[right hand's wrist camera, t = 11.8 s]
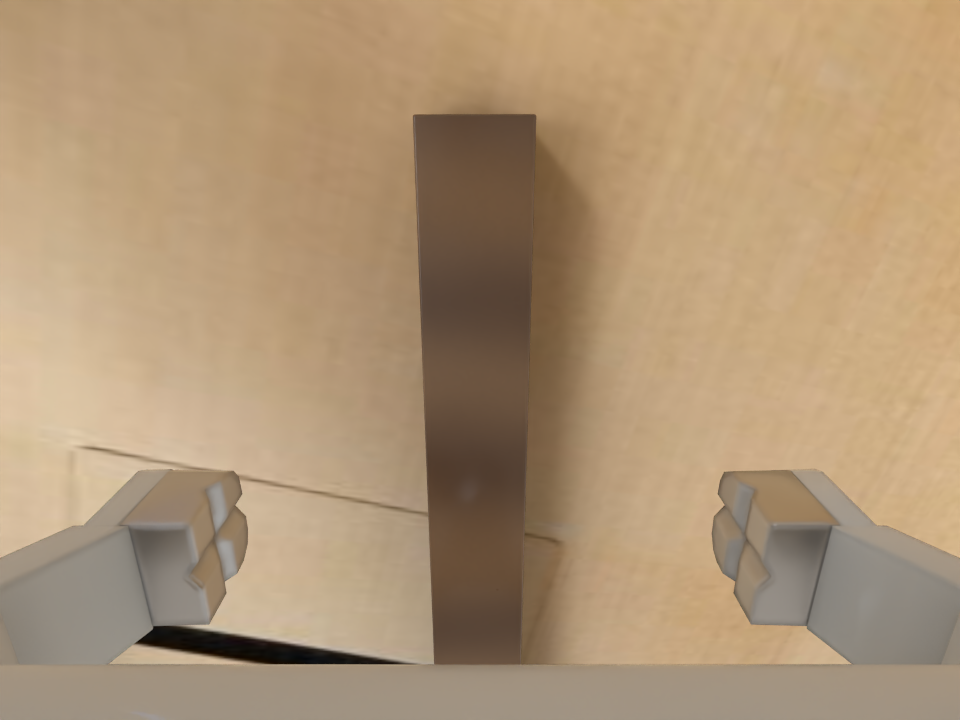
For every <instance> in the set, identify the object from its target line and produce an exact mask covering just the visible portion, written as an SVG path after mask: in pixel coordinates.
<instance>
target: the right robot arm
mask: <svg viewBox="0 0 960 720" xmlns="http://www.w3.org/2000/svg"><path fill="white" fill-rule="evenodd" d="M241 495H242V490H241V485H240V480H239V476H238V475H237V474H236V473H235V472H234V471H214V470H172V469H159V470H142V471H138V472H137V473H136V474H135V475H134V476H133V477H132V478H131V479H130V480H129V481H128V482H127V483H126V484H125V485H124V486H123V487H122V488H121V489H120V490H119V491H118V492H117V493H116V494H115V495H114V496H113V497H112V498H111V499H110V500H109V501H108V502H107V503H106V504H105V505H104V506H103V507H102V508H101V509H100V510H99V511H98V512H97V513H96V514H95V515H94V516H93V517H92V518H91V519H90V520H89V521H88V522H87V523H86V524H85V525H84V526H72V527H69V528H67V529H65V530H63V531H60V532H58V533H56V534H54V535H51V536H49V537H47V538H44V539H42V540H40V541H38V542H35V543H33V544H31V545H29V546H26V547H24V548H22V549H20V550H17V551H15V552H13V553H11V554H8V555H6V556H4V557H1V558H0V720H960V558H958V557H956V556H954V555H952V554H949V553H947V552H945V551H943V550H940V549H938V548H936V547H933V546H931V545H929V544H927V543H924V542H922V541H920V540H918V539H915V538H913V537H911V536H909V535H906V534H904V533H902V532H900V531H897V530H895V529H893V528H891V527H888V526H877V525H875V524H874V523H873V522H872V521H871V520H870V519H869V518H868V517H867V516H866V515H865V514H864V513H863V512H862V511H861V510H860V509H859V508H858V507H857V506H856V505H855V504H854V503H853V502H852V501H851V500H850V499H849V498H848V497H847V496H846V495H845V494H844V493H843V492H842V491H841V490H840V489H839V488H838V487H837V486H836V485H835V484H834V483H833V482H832V481H831V480H830V479H829V478H828V477H827V476H826V475H825V474H824V473H823V472H821V471H819V470H816V469H803V470H772V471H732V472H724V473H723V476H722V478H721V480H720V484H719V490H718V495H719V497H720V498H721V500H722V501H723V503H724V504H725V506H724V507H723V508H722V509H721V510H720V511H719V512H718V513H717V514H716V515H715V516H714V521H713V529H712V541H713V551H714V554H715V557H716V560H717V563H718V565H719V567H720V569H721V571H722V573H723V574H725V575H726V576H728V577H729V578H731V579H732V580H734V581H735V588H734V595H735V597H736V598H737V600H738V602H739V604H740V606H741V607H742V609H743V611H744V613H745V615H746V616H747V618H748V620H749V622H750V624H755V625H791V626H807V629H808V630H809V631H811V632H812V633H813V634H814V635H816V636H817V637H818V638H820V639H821V640H822V641H823V642H825V643H826V644H827V645H829V646H830V647H831V648H832V649H834V650H835V651H836V652H837V653H839V654H840V655H841V656H843V657H844V658H845V659H846V660H848V661H849V662H850V663H851V664H829V665H188V664H109V663H110V662H111V661H113V660H114V659H115V658H116V657H118V656H119V655H120V654H121V653H123V652H124V651H125V650H127V649H128V648H129V647H130V646H132V645H133V644H134V643H136V642H137V641H138V640H139V639H141V638H142V637H143V636H144V635H146V634H147V633H148V632H150V631H151V630H152V629H153V626H168V625H204V624H210V622H211V620H212V618H213V616H214V615H215V613H216V611H217V609H218V607H219V606H220V604H221V602H222V600H223V598H224V597H225V595H226V588H225V581H226V580H228V579H229V578H231V577H232V576H234V575H235V574H237V573H238V571H239V569H240V567H241V565H242V563H243V561H244V557H245V553H246V549H247V544H248V527H247V520H246V516H245V515H244V514H243V513H242V512H241V511H240V510H239V509H238V508H237V507H236V506H235V504H236V503H237V501H238V500H239V498H240V497H241Z"/></svg>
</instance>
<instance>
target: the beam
mask: <svg viewBox="0 0 960 720" xmlns="http://www.w3.org/2000/svg"><path fill="white" fill-rule="evenodd" d="M413 132H414V157H415V183H416V208H417V234H418V259H419V285H420V311H421V336H422V362H423V387H424V413H425V438H426V464H427V490H428V515H429V541H430V566H431V592H432V618H433V643H434V665H521V638H522V602H523V567H524V532H525V496H526V461H527V425H528V390H529V355H530V319H531V284H532V249H533V213H534V178H535V142H536V115H535V114H436V115H413Z"/></svg>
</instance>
